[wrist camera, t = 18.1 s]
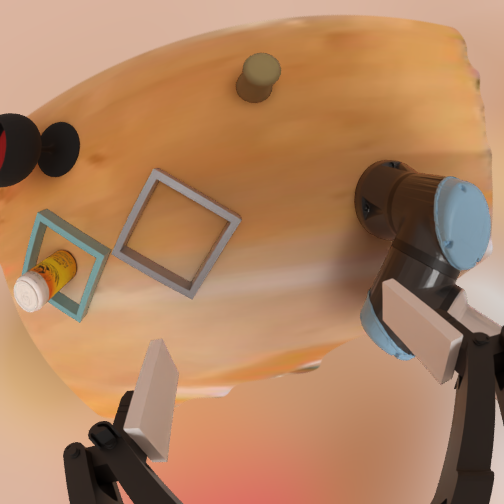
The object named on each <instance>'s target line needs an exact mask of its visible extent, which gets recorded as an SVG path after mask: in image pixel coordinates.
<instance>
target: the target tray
mask: <svg viewBox="0 0 504 504" xmlns="http://www.w3.org/2000/svg"><path fill="white" fill-rule="evenodd" d="M47 226H48V227H49V228H51V229H52V230H54V231H55V232H57V233H58V234H60V235H61V236H63V237H64V238H66V239H67V240H69V241H70V242H72V243H73V244H75V245H76V246H78V247H79V248H81V249H83V250H84V251H86V252H87V253H89V254H90V255H92V256H94V257H95V258H97V259H96V261H95V264H94V266H93V269H92V271H91V274H90V277H89V279H88V282H87V285H86V288H85V291H84V294H83V296H82V299H81V302H80V305H79V304H77V303H76V302H74V301H73V300H71V299H69V298H68V297H66V296H65V295H63V294H62V293H60V292H59V291H58V292H57V293H56V294H55V295H54V296H53V297H52V298H51V299H50V300H49V301H48V302H49V303H50V304H52V305H53V306H55V307H56V308H58V309H59V310H61V311H62V312H64V313H65V314H67V315H68V316H70V317H72V318H73V319H75V320H76V321H78V322H79V323H80V322H81V321H82V319H83V318H84V317H85V315H86V314H87V311H88V308H89V305H90V302H91V300H92V297H93V294H94V291H95V289H96V286H97V284H98V281H99V278H100V276H101V273H102V271H103V268H104V266H105V264H106V261H107V259H108V256H109V254H110V252H111V249H109V248H107V247H106V246H104V245H102V244H101V243H99V242H98V241H96V240H94V239H93V238H91V237H90V236H88V235H86V234H85V233H83V232H82V231H80V230H79V229H77V228H75V227H74V226H72V225H71V224H69V223H68V222H66V221H65V220H63V219H62V218H60V217H59V216H57V215H56V214H54V213H53V212H51V211H50V210H48V209H46V210H43V211H40V212H38V213H37V216H36V219H35V223H34V226H33V230H32V233H31V237H30V241H29V245H28V249H27V253H26V257H25V262H24V266H23V271H22V275H23V274H25V273H26V272H27V271H29V270H30V269H32V268H33V267H35V266H36V262H37V258H38V254H39V251H40V247H41V243H42V240H43V237H44V233H45V230H46V227H47Z"/></svg>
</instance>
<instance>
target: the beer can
mask: <svg viewBox="0 0 504 504" xmlns="http://www.w3.org/2000/svg"><path fill="white" fill-rule="evenodd" d="M75 273H76V263H75V261H74V259H73V257H72V256H71V255H70V254H69V253H68V252H66V251H63V250H60V251H57V252H55V253H54V254H52V255H51V256H49V257H48V258H46V259H45V260H43V261H42V262H40V263H39V264H37V265H36V266H35V267H33V268H32V269H30V270H29V271H27V272H26V273H25V274H23V275H22V276H20V277H19V278H18V279H17V281H16V284H15V286H14V296H15V299H16V301H17V303H18V304H19V306H20V307H21V308H22V309H24V310H25V311H27V312H33V311H38V310H40V309H41V308H42V307H43V306H44V305H45V304H46V303H47V302H48V301H49V300H50V299H51V298H52V297H53V296H54V295H55V294H56V293H57V292H58V291H59V290H60V289H61V288H62V287H63V286H64V285H65V284H67V283H68V282H69V281H70V280H71V279H72V278H73V277H74V276H75Z"/></svg>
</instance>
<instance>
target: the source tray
mask: <svg viewBox="0 0 504 504" xmlns="http://www.w3.org/2000/svg"><path fill="white" fill-rule="evenodd" d="M159 181H161V182H163V183H164V184H166V185H168V186H170V187H171V188H173V189H175V190H176V191H178V192H180V193H182V194H183V195H185V196H187V197H188V198H190V199H192V200H194V201H195V202H197V203H199V204H200V205H202V206H204V207H206V208H207V209H209V210H211V211H212V212H214V213H216V214H217V215H219V216H221V217H223V218H224V219H226V220H228V223H227V224H226V226H225V228H224V229H223V231H222V232H221V234H220V236H219V237H218V239H217V241H216V242H215V244H214V245H213V247H212V249H211V250H210V252H209V254H208V255H207V257H206V259H205V260H204V262H203V264H202V265H201V267H200V269H199V270H198V272H197V274H196V275H195V277H194V279H193V280H192V282H189V281H187V280H185V279H184V278H182V277H180V276H178V275H176V274H174V273H173V272H171V271H169V270H167V269H166V268H164V267H162V266H160V265H158V264H157V263H155V262H153V261H151V260H150V259H148V258H146V257H144V256H143V255H141V254H139V253H137V252H136V251H134V250H132V249H131V248H129V247H127V246H126V245H127V242H128V240H129V238H130V236H131V234H132V232H133V230H134V228H135V226H136V224H137V222H138V220H139V218H140V216H141V214H142V212H143V210H144V208H145V206H146V204H147V202H148V200H149V199H150V197H151V195H152V193H153V191H154V189H155V188H156V186H157V184H158V182H159ZM240 222H241V217H240V216H239V215H238V214H236V213H234V212H233V211H231V210H229V209H228V208H226V207H224V206H223V205H221V204H219V203H218V202H216V201H214V200H213V199H211V198H209V197H208V196H206V195H204V194H202V193H201V192H199V191H197V190H196V189H194V188H192V187H191V186H189V185H187V184H185V183H184V182H182V181H180V180H179V179H177V178H175V177H173V176H172V175H170V174H168V173H166V172H165V171H163V170H161V169H159V168H154V169H153V171H152V173H151V175H150V176H149V178H148V180H147V182H146V184H145V186H144V187H143V189H142V191H141V193H140V195H139V197H138V199H137V201H136V203H135V205H134V207H133V209H132V211H131V213H130V215H129V217H128V219H127V221H126V223H125V225H124V227H123V229H122V231H121V234H120V236H119V238H118V240H117V242H116V245H115V247H114V249H113V251H112V255H114V256H115V257H117V258H119V259H120V260H122V261H124V262H126V263H127V264H129V265H131V266H132V267H134V268H136V269H138V270H139V271H141V272H143V273H145V274H146V275H148V276H150V277H152V278H153V279H155V280H157V281H159V282H161V283H162V284H164V285H166V286H168V287H170V288H172V289H173V290H175V291H177V292H179V293H181V294H183V295H185V296H186V297H188V298H190V299H193V298H194V296H195V294H196V293H197V291H198V289H199V288H200V286H201V284H202V283H203V281H204V280H205V278H206V276H207V275H208V273H209V271H210V270H211V268H212V267H213V265H214V263H215V262H216V260H217V258H218V257H219V255H220V254H221V252H222V250H223V249H224V247H225V246H226V244H227V242H228V241H229V239H230V238H231V236H232V234H233V233H234V231H235V230H236V228H237V226H238V225H239V223H240Z"/></svg>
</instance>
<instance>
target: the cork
mask: <svg viewBox="0 0 504 504" xmlns="http://www.w3.org/2000/svg"><path fill="white" fill-rule="evenodd" d="M280 75H281V67H280V63H279V62H278V61H277V59H276V58H274V57H273V56H272V55H269V54H266V53H257V54H254V55H252V56H250V57H249V58H248V59H247V60H246V61H245V63H244V65H243V73H242V74H241V75H240V77H239V78H238V80H237V82H236V90H237V93H238V94H239V96H240V97H241V98H242V99H243V100H245V101H247V102H250V103H258V102H262V101H264V100H266V99H267V98H268V97H269V96H270V94H271V91H272V86H273V84H274V83H275V82H276V81H277V80H278V79H279V77H280Z"/></svg>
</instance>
